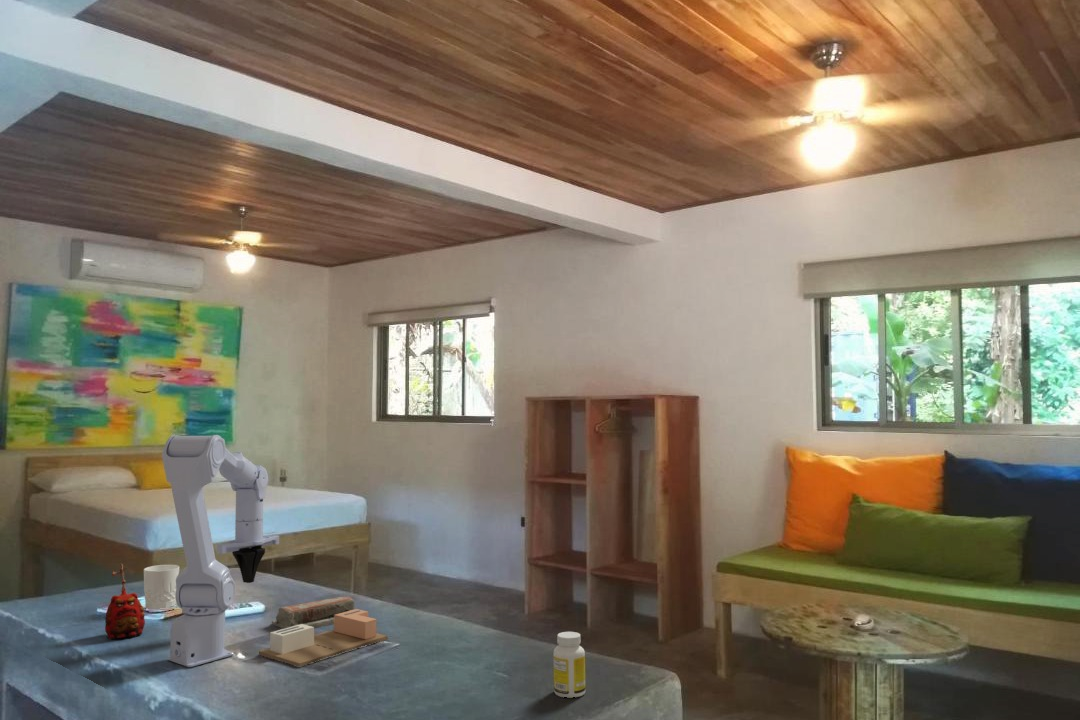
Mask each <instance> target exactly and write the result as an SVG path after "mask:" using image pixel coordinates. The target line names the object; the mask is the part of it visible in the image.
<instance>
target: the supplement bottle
mask: <svg viewBox="0 0 1080 720" xmlns="http://www.w3.org/2000/svg"><path fill="white" fill-rule="evenodd" d="M556 636H557V639H556V642H557V646H556V647H555V648H554V649H553V653H552V654H553V655H552V656H553V657H552V658H553V693H555V694H554V695H556V696H558V697H559V698H560V697H561V698H564V697H567V698H568V699H573V697H575V698H578V697H579V698H580V697H582V696H583V695H585V693H586V651H585V649H584V648H583V647H582V646H581V645H580V644H581V641H582V640H581V633H580V632H575V631H563V632H559V633H558V634H557V635H556ZM567 698H566V699H567Z"/></svg>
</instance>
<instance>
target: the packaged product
mask: <svg viewBox="0 0 1080 720" xmlns="http://www.w3.org/2000/svg"><path fill="white" fill-rule="evenodd" d="M354 609H355V600H354V599H352V597H350V596H338V597H332V598H326V599H321V600H316V601H308V602H305V603H299V604H292V605H287V606H282V607H280V608H278V612H277V615H276V617H275V619H276V620H271V622H270V623H271V625H272V626H275V627H277V628H279V629H285V628H289V627H293V626H296V625H300V624H304V625H308V626H312V627H314V629H317V627H318V628H322V627H321V626H323V627H326V626H331V625H334V615H335V614H339V613H343V612H347V611H350V610H354Z"/></svg>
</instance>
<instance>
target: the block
mask: <svg viewBox="0 0 1080 720" xmlns="http://www.w3.org/2000/svg"><path fill="white" fill-rule="evenodd" d="M377 621H378V620H377V618H373V617H369V611H367V610H364V609H359V608H354V610H350V611H347V612H343V613H339V614H335V615H334V624H333V630H334V632H338V633H342V634H346V635H350V636H354V637H358V638H362V639H369V638H372V637H375V636H377V633H378V631H377V630H378V629H377Z"/></svg>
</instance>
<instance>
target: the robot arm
mask: <svg viewBox="0 0 1080 720" xmlns="http://www.w3.org/2000/svg"><path fill="white" fill-rule="evenodd" d="M243 455H244V454H243V453H242V451H234V452H231V451H230V450H229V449H227V447H226V441H225V438H222V436H221V435H219V434H213V435H178V434H173V435H171V436H169V437H168V438H167V440H166V441H165V444H164V446H163V450H162V453H161V459H162V464H163V469H164V474H165V477H166V478H165V479H166V482H167V483H168V484H170V486H171V493H172V498H173V502H174V508H175V514H176V517H177V518H176V519H177V523H178V527H179V532H180V538H181V544H182V548H183V553H184V557H185V563H186V566H185V567H184V568H183V569H181V570H180V571H179V574H178V576H177V578H176V580H175V581H176V595H175V597H176V602H177V604H176V605H177V606H178V607H179V609H180V610H181V613H182V614H183V615H181V616H179V617H176V618H174V619H173V620H172V623H171V626H170V637H169V638H170V641H169V642H170V643H169V644H170V646H169V647H170V649H169V650H170V651H169V657H167V660H168V661H170V662H173V663H176V664H179V665H180V666H184V667H186V668H193V667H196V666H200V665H202V664H203V665H204V664H207V663H210V662H214V661H217V660H220V659H225V658H227V657H230V656H231V657H232V656H234V654H235V653H234V651H230V650H228V649H226V647H225V645H226V641H225V640H226V611H227V610H228V609H229V608H230V606H232V604H233V603H234V600H235V597H236V590H237V589H236V583H235V581H234V579H233V577H232V575H231V573H230V569H229V567H228V566H226V565H224V563H221V562H219V560H217V559H216V556H215V555H216V554H219V555H226V554H227V553H232V556H233V558H234V559H235V561H236V562H237V565H238V568H239V570H240V571H239V572H240V574H241V578H242V582H243V583H247V584H250V583H254V582H255V578H256V575H257V571H258V567H259V566H260V563H261V561H262V559H263V557H264V555H265V554H266V548H264V547H266V546H273V545H274V546H275V545H276V546H277V545H279V544H280V535H276V534H271V535H263V532H264V531H263V529H264V527H263V526H264V499H265V498H266V496H267V492H266V491H267V487H268V484H269V475H268V471H267V469H266V467H263V465H258V464H257V465H256V464H254V463H252V461H251V460H250V459H247V457H245V456H243ZM218 472H219V474H220V475H221V476H222V478H225V479H226V480H227V481H229V483H230V486H231V489H232V491H233V492H234V491H235V518H234V519H235V526H234V528H235V532H234V537H235V538H234V540H230V541H229V540H228V541H226V542H221V543H217V544H216V554H215V549H214V544H213V537H212V533H211V528H210V527H211V526H210V522H209V516H208V511H207V507H206V502H205V495H204V490H203V488H204V487H205V486H206V485H209V484H210V483H212V482H213V481H214V479H215V478H216V475H217V473H218Z"/></svg>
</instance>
